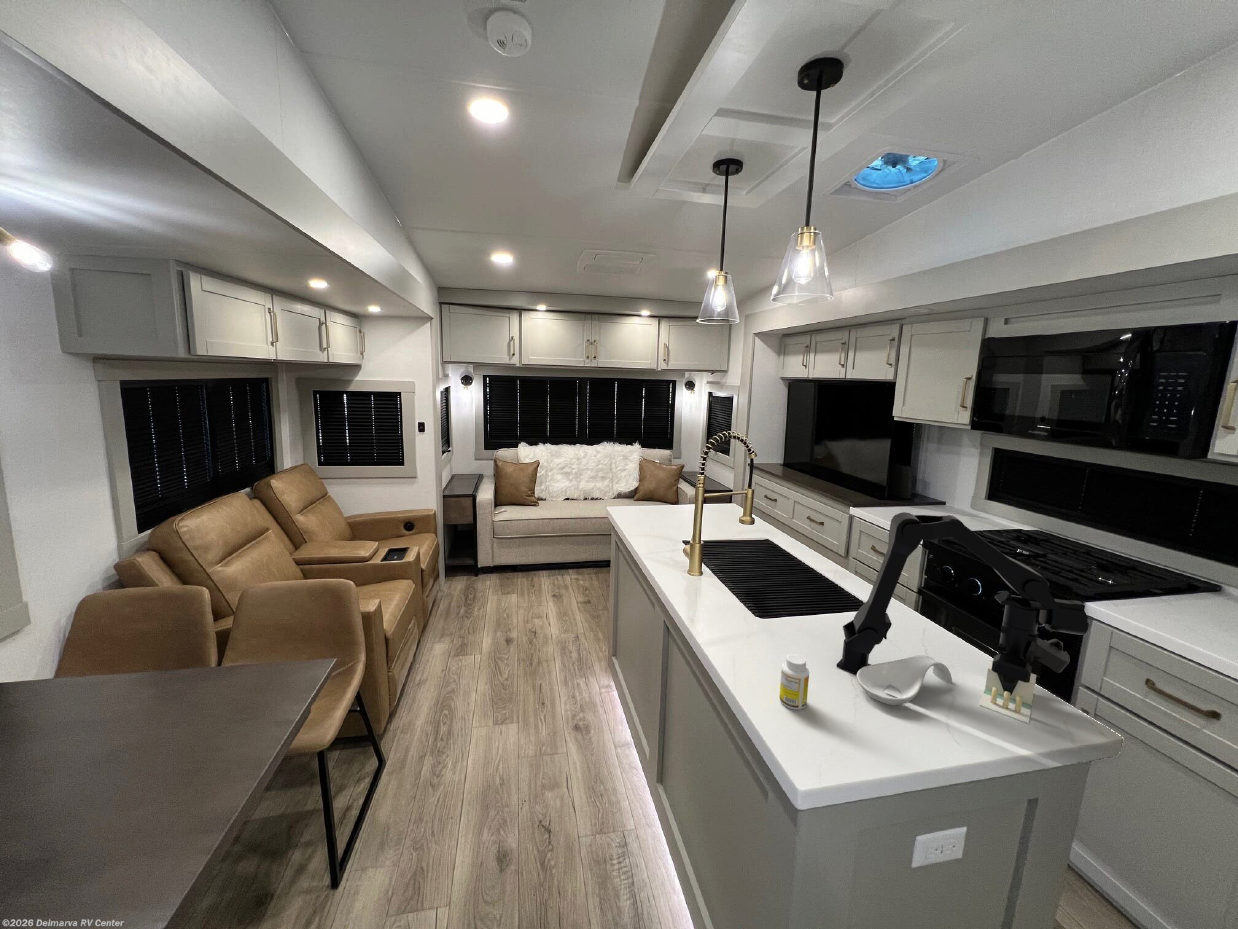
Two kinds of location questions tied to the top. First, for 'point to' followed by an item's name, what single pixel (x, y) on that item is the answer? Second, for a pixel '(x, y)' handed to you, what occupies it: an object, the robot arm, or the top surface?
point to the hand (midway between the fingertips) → (1008, 690)
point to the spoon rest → (900, 677)
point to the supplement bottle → (794, 682)
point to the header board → (1006, 705)
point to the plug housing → (1020, 689)
